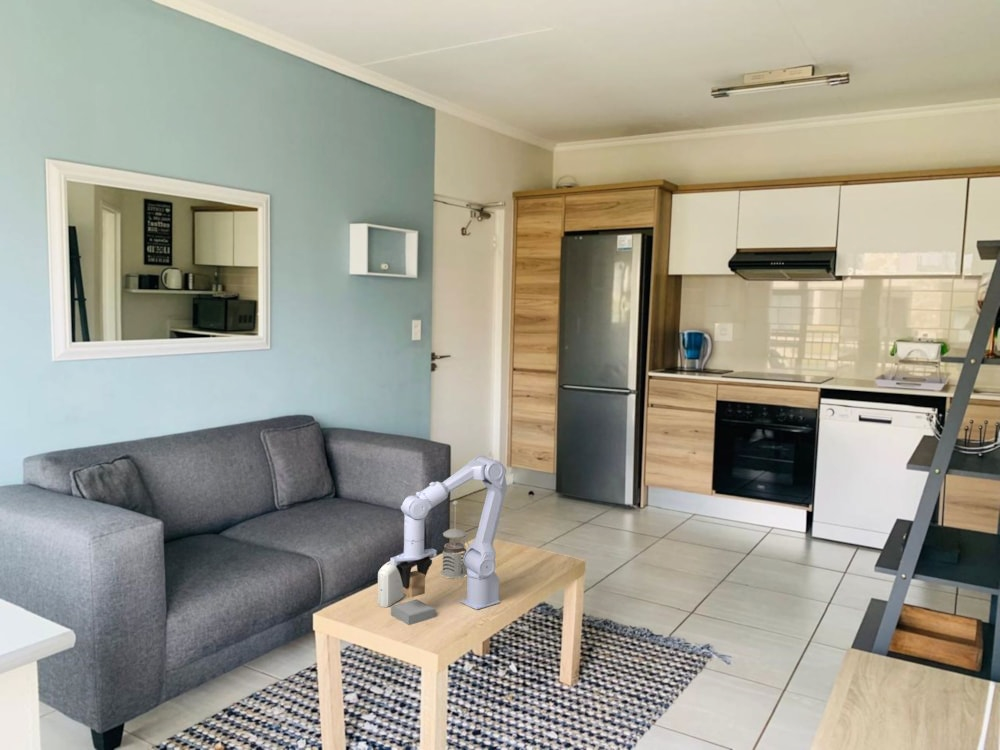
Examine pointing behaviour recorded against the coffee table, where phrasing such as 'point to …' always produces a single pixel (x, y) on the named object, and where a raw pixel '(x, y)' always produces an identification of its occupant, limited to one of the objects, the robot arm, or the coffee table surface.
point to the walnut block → (415, 584)
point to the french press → (450, 561)
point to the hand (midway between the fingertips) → (413, 585)
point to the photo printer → (389, 585)
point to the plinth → (412, 611)
